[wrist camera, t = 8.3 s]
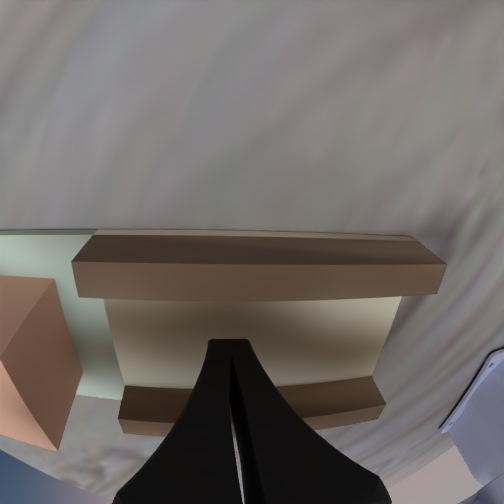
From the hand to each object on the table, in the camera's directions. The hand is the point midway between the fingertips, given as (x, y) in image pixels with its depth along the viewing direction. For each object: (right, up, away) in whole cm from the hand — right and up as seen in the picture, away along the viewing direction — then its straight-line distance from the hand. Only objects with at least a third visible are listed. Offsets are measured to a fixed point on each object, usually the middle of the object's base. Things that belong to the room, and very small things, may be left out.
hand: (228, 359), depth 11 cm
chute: (-4, +1, +1) cm, 5 cm away
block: (-9, +1, 0) cm, 9 cm away
